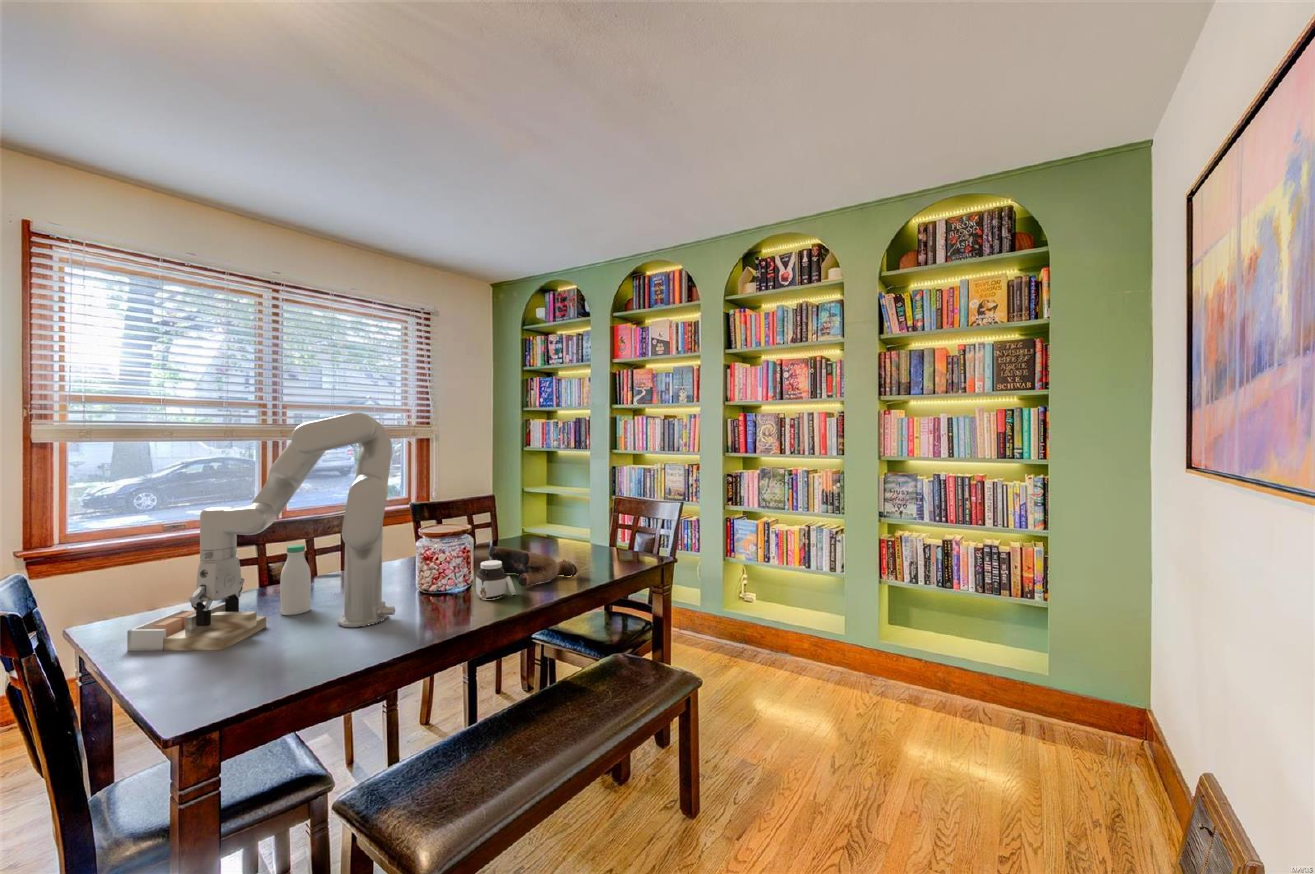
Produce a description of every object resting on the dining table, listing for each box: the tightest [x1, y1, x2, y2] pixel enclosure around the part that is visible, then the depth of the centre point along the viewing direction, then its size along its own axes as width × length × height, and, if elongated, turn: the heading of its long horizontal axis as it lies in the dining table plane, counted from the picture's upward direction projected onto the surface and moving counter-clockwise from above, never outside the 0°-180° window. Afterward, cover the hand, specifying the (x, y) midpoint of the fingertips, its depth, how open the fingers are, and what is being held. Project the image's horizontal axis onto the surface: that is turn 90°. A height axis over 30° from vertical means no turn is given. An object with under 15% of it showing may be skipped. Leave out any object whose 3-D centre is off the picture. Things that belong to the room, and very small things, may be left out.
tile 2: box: [175, 611, 196, 630], centre depth 144 cm, size 5×5×2 cm
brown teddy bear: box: [488, 545, 579, 587], centre depth 204 cm, size 13×31×25 cm
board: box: [163, 615, 267, 652], centre depth 142 cm, size 14×16×3 cm
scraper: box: [185, 602, 258, 635], centre depth 142 cm, size 12×12×4 cm
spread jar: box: [475, 559, 517, 599], centre depth 179 cm, size 12×11×12 cm
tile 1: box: [155, 618, 182, 637], centre depth 138 cm, size 5×5×2 cm
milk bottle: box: [279, 544, 312, 616], centre depth 163 cm, size 8×8×20 cm
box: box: [126, 609, 194, 652], centre depth 141 cm, size 8×16×5 cm, turn 2°
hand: (218, 619), depth 142 cm, fingers open, 9 cm apart
